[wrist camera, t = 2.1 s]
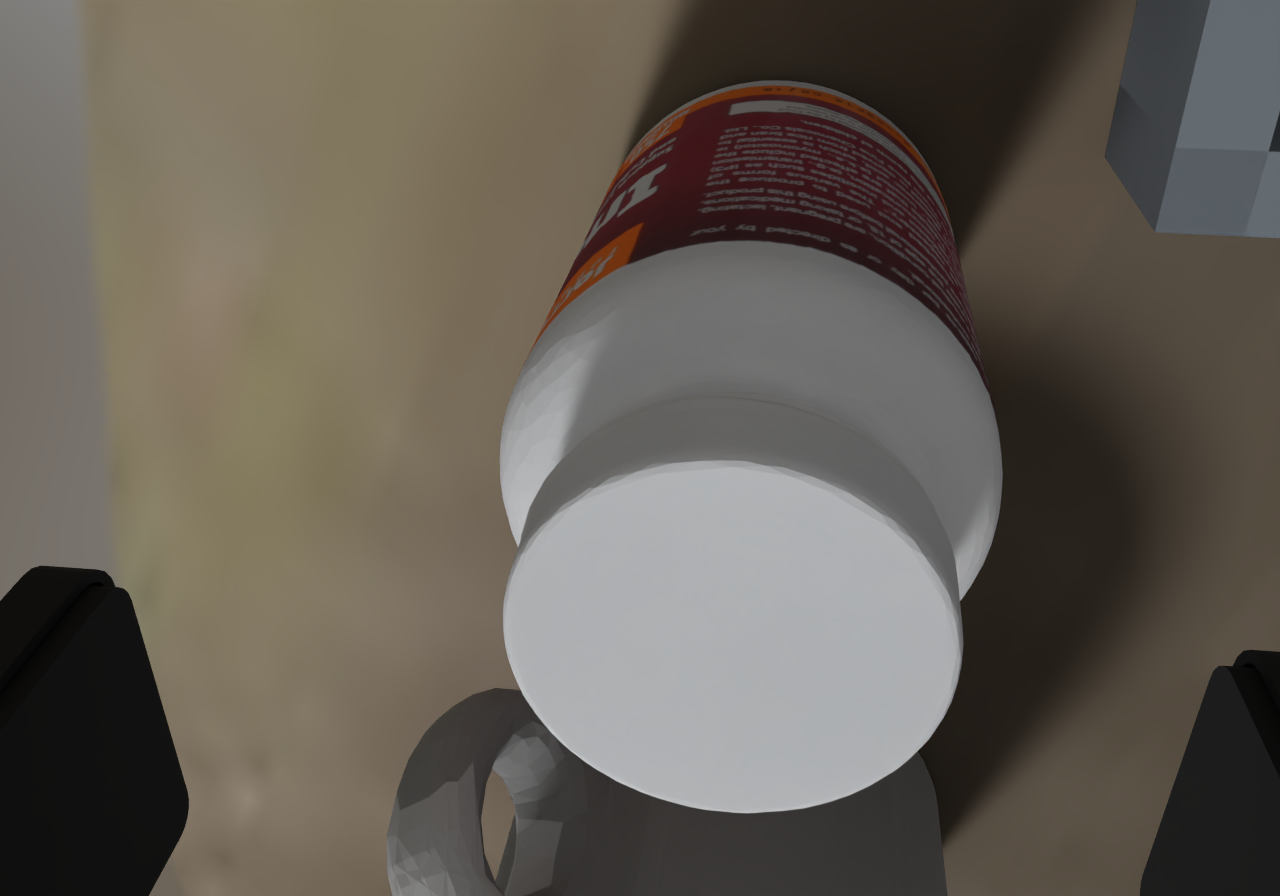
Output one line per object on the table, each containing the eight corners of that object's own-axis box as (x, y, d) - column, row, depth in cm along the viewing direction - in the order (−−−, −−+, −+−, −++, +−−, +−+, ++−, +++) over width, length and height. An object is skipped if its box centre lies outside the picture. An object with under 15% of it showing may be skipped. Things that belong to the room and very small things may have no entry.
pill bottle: (626, 39, 20) (445, 311, 10) (994, 108, 19) (1153, 451, 10) (581, 365, 23) (412, 798, 14) (895, 427, 23) (945, 911, 13)
